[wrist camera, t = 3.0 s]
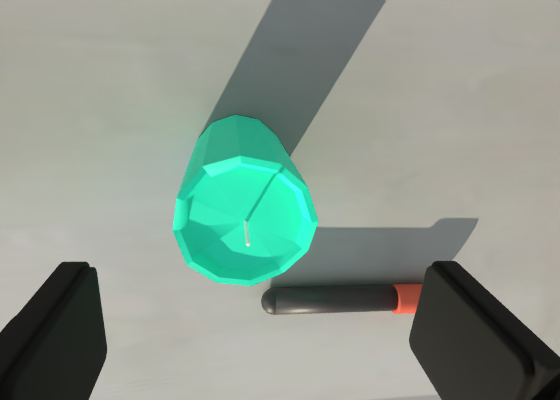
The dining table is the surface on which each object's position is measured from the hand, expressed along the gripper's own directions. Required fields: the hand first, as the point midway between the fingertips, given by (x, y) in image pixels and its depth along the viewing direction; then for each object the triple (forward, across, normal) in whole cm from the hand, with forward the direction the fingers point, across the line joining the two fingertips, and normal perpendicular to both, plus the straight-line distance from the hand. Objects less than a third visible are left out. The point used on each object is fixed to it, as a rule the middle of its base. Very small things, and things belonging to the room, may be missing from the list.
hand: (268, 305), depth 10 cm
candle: (+16, +1, 0) cm, 16 cm away
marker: (+16, -8, +11) cm, 21 cm away
